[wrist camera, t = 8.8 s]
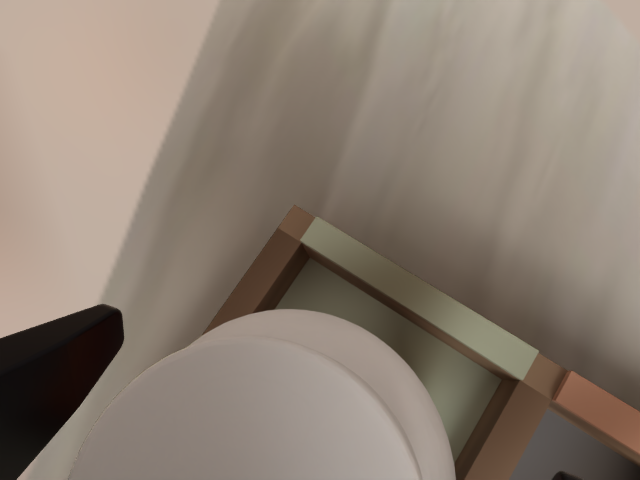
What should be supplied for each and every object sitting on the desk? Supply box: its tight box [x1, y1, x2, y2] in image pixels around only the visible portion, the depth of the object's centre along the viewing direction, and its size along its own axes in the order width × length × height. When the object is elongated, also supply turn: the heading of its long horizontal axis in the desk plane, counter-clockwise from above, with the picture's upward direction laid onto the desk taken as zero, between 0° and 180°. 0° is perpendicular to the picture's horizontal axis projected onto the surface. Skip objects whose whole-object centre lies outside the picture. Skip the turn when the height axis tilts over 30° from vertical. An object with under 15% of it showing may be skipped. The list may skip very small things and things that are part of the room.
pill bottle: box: [68, 309, 456, 480], centre depth 11 cm, size 6×6×11 cm
